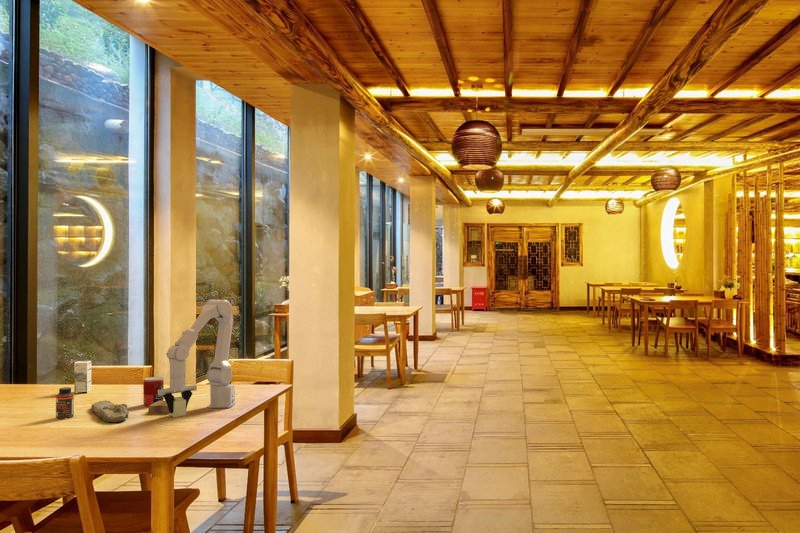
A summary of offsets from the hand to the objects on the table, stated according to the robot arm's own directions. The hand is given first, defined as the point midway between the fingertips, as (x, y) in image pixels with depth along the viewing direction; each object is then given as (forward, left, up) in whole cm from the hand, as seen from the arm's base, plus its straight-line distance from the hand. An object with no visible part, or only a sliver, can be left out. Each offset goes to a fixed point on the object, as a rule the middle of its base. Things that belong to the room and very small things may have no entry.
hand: (177, 411), depth 228 cm
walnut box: (+8, -7, -2) cm, 11 cm away
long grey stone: (+28, -1, -2) cm, 28 cm away
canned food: (+18, -19, -2) cm, 26 cm away
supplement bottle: (+42, +4, -2) cm, 42 cm away
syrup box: (+63, -45, -2) cm, 77 cm away
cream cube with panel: (0, 0, -1) cm, 1 cm away
